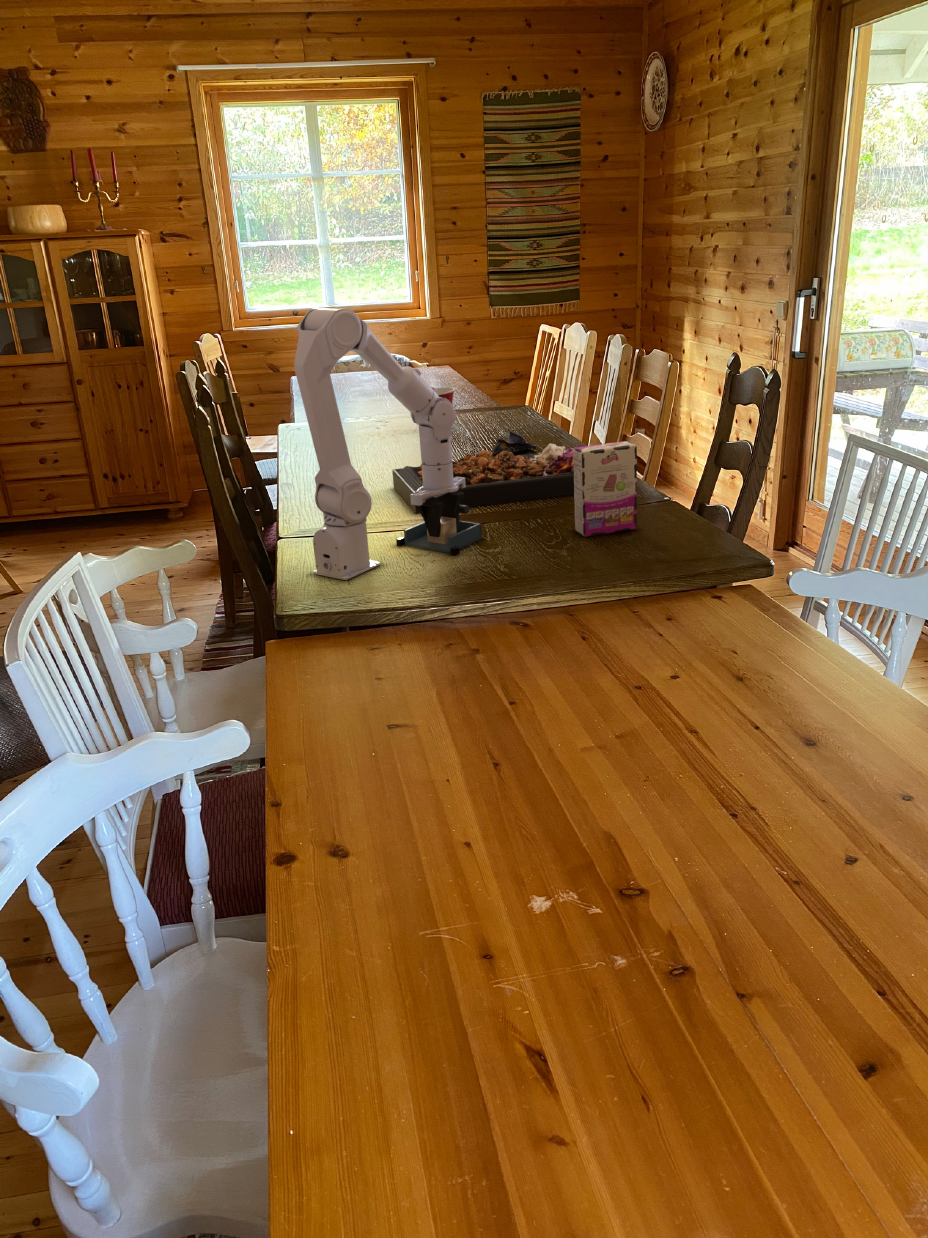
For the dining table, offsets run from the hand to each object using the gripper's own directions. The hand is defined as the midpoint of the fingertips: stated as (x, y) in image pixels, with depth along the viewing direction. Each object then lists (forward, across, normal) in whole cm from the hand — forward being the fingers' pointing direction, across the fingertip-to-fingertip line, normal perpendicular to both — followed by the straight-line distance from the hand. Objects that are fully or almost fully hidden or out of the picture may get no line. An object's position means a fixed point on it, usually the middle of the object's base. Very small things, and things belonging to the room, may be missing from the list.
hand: (441, 533), depth 174 cm
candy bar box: (+2, +20, -24) cm, 32 cm away
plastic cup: (+2, +96, +72) cm, 120 cm away
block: (+1, 0, 0) cm, 1 cm away
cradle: (+2, -4, 0) cm, 5 cm away
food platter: (+2, +39, +13) cm, 41 cm away
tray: (+2, 0, 0) cm, 2 cm away
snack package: (+2, +74, +31) cm, 81 cm away
